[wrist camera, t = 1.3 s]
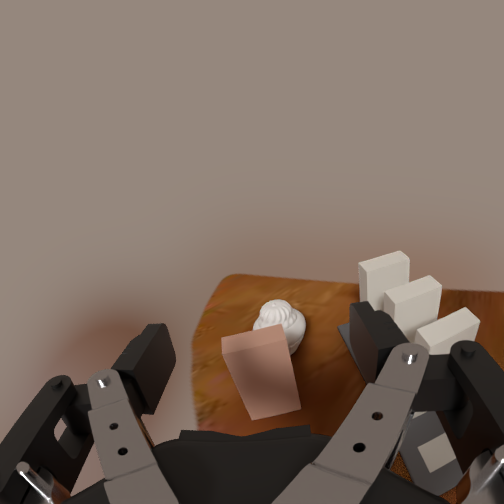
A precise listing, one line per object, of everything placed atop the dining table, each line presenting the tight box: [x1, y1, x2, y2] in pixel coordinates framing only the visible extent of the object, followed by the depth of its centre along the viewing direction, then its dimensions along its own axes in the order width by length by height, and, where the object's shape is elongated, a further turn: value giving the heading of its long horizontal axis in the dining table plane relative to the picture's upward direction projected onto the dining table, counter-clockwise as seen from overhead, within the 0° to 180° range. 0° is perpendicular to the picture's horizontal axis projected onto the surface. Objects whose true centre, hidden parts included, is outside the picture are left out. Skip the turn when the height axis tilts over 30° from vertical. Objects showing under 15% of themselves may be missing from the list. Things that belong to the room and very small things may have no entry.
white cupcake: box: [253, 299, 306, 355], centre depth 33 cm, size 6×6×7 cm
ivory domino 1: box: [358, 251, 410, 311], centre depth 29 cm, size 2×5×10 cm, turn 95°
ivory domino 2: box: [384, 275, 442, 343], centre depth 24 cm, size 2×5×10 cm, turn 96°
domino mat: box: [338, 323, 463, 496], centre depth 23 cm, size 24×9×1 cm, turn 5°
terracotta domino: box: [222, 323, 301, 420], centre depth 24 cm, size 2×5×10 cm, turn 96°
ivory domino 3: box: [412, 307, 480, 419], centre depth 19 cm, size 2×5×10 cm, turn 95°
